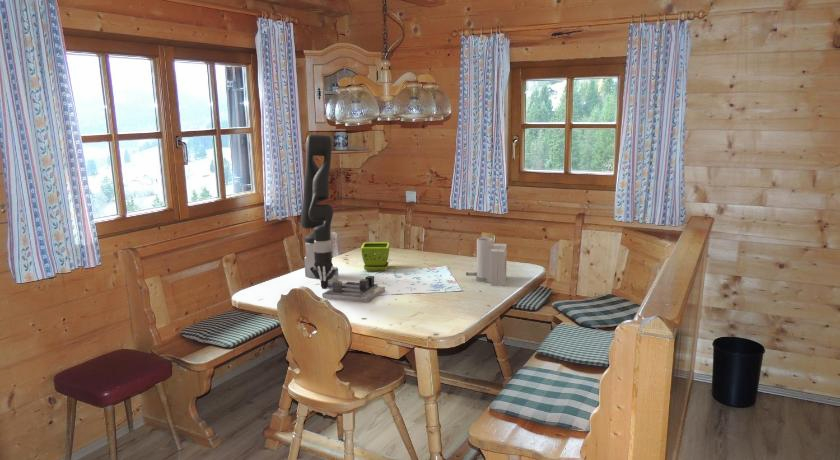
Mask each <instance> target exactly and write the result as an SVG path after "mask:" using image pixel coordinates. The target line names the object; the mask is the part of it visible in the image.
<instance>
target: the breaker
mask: <svg viewBox="0 0 840 460" xmlns="http://www.w3.org/2000/svg"><path fill="white" fill-rule="evenodd" d="M342 283H343V281H341V280H339V281H334V282H333V283H332V284H333V287H332V288H333V292H340V293H341V292H342Z"/></svg>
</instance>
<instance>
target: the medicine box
mask: <svg viewBox="0 0 840 460" xmlns="http://www.w3.org/2000/svg"><path fill="white" fill-rule="evenodd" d="M333 267H334V268H337V269H338V268H339V267H338V266H333ZM330 273H331V270H330V271H329V274H330ZM328 276H329V275H328ZM334 281H340V280H339V269H338V270H337V272H336V273H335V274H334V276H333V277H332V278H331V279H329V280H328V287H327V288H333V284H332V283H333V282H334Z"/></svg>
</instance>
